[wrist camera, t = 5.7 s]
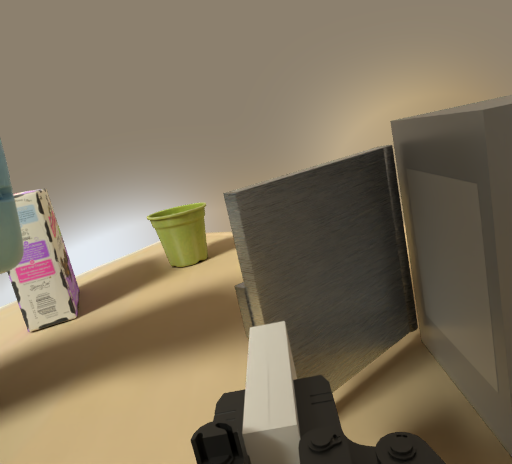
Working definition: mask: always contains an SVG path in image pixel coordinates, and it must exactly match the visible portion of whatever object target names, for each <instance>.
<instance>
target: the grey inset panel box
mask: <svg viewBox="0 0 512 464" xmlns="http://www.w3.org/2000/svg"><path fill="white" fill-rule="evenodd" d="M391 128H392V135H393V141H394V149H395V155H396V163H397V170H398V178H399V185H400V192H401V199H402V206H403V213H404V220H405V227H406V235H407V242H408V249H409V256H410V263H411V270H412V277H413V284H414V292H415V299H416V306H417V313H418V320H419V327H420V334H421V341H422V342H423V344H424V345H425V346H426V347H427V349H428V350H429V351H430V353H431V354H432V355H433V356H434V358H435V359H436V360H437V362H438V363H439V364H440V365H441V367H442V368H443V369H444V370H445V372H446V373H447V374H448V376H449V377H450V378H451V379H452V381H453V382H454V383H455V385H456V386H457V387H458V388H459V390H460V391H461V392H462V394H463V395H464V396H465V397H466V399H467V400H468V401H469V403H470V404H471V405H472V406H473V408H474V409H475V410H476V412H477V413H478V414H479V415H480V417H481V418H482V419H483V421H484V422H485V423H486V424H487V426H488V427H489V428H490V430H491V431H492V432H493V433H494V435H495V436H496V437H497V439H498V440H499V441H500V442H501V444H502V445H503V446H504V448H505V449H506V450H507V451H508V453H509V454H510V455H511V457H512V95H510V96H504V97H500V98H495V99H491V100H486V101H482V102H477V103H472V104H467V105H463V106H458V107H454V108H449V109H444V110H440V111H435V112H430V113H426V114H421V115H417V116H412V117H408V118H403V119H398V120H394V121H391Z"/></svg>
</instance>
